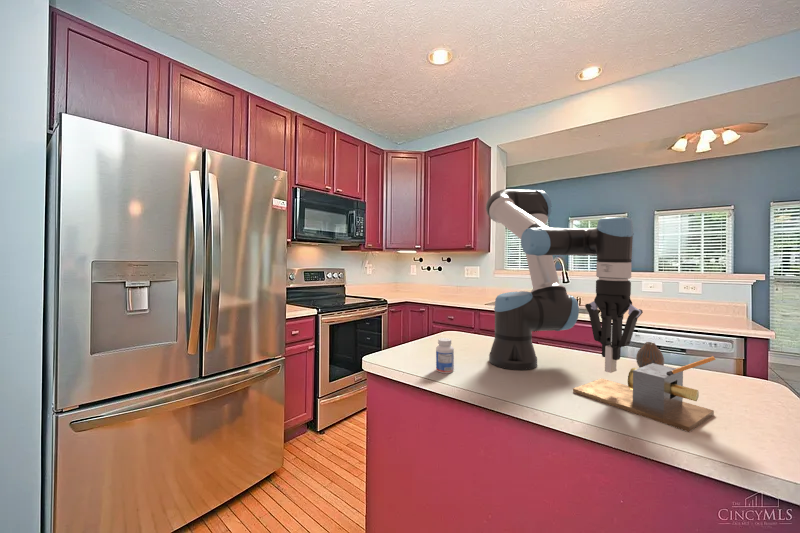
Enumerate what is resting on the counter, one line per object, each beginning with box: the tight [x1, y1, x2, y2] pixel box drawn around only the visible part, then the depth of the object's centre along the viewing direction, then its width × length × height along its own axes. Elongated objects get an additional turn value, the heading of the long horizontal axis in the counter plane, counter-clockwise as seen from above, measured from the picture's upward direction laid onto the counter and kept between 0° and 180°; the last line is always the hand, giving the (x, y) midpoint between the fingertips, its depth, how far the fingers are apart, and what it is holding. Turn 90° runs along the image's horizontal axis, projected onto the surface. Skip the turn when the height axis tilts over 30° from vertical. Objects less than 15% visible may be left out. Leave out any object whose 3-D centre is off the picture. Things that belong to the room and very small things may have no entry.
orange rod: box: [672, 355, 717, 374], centre depth 73 cm, size 8×4×1 cm
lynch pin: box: [627, 367, 700, 402], centre depth 78 cm, size 12×5×5 cm, turn 32°
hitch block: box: [572, 363, 715, 433], centre depth 82 cm, size 24×14×10 cm, turn 32°
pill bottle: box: [435, 337, 455, 374], centre depth 106 cm, size 6×5×10 cm
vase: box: [635, 341, 665, 368], centre depth 105 cm, size 7×7×9 cm
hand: (610, 370), depth 88 cm, fingers closed
